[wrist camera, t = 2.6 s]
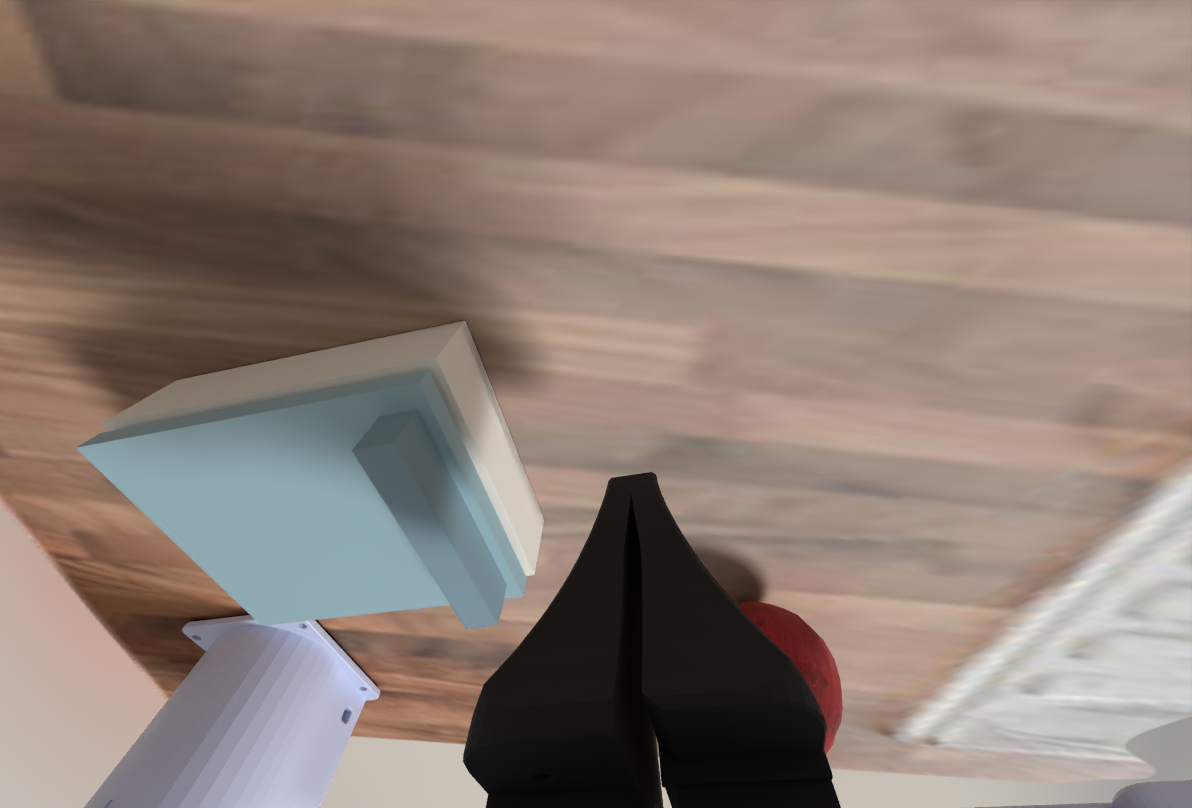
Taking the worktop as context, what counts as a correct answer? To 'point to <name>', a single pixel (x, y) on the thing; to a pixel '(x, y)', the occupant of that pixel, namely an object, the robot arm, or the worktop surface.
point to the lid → (324, 503)
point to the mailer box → (375, 359)
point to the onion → (803, 657)
